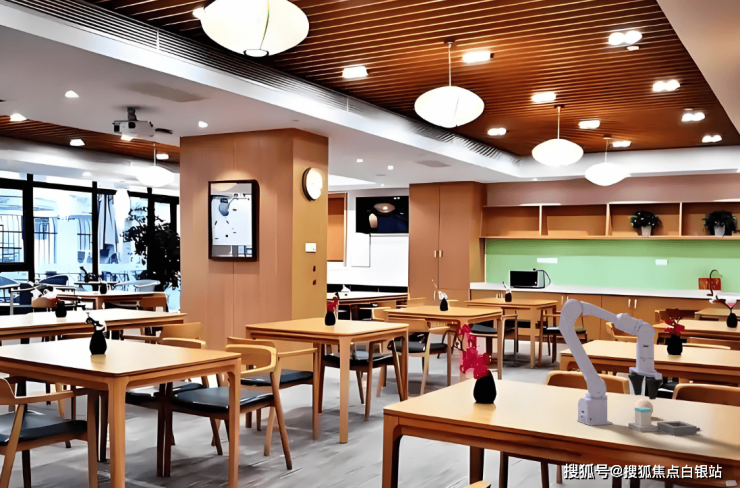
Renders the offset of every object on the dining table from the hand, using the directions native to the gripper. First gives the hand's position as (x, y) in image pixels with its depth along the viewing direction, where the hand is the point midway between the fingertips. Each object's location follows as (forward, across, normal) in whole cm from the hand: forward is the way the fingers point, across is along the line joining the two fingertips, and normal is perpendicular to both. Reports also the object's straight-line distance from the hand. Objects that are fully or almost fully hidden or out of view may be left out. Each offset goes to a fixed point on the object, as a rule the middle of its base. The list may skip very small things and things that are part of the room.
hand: (645, 397), depth 237 cm
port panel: (+10, -10, -7) cm, 16 cm away
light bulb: (+10, +11, -7) cm, 17 cm away
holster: (+10, -4, +4) cm, 11 cm away
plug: (+10, -4, +4) cm, 11 cm away
